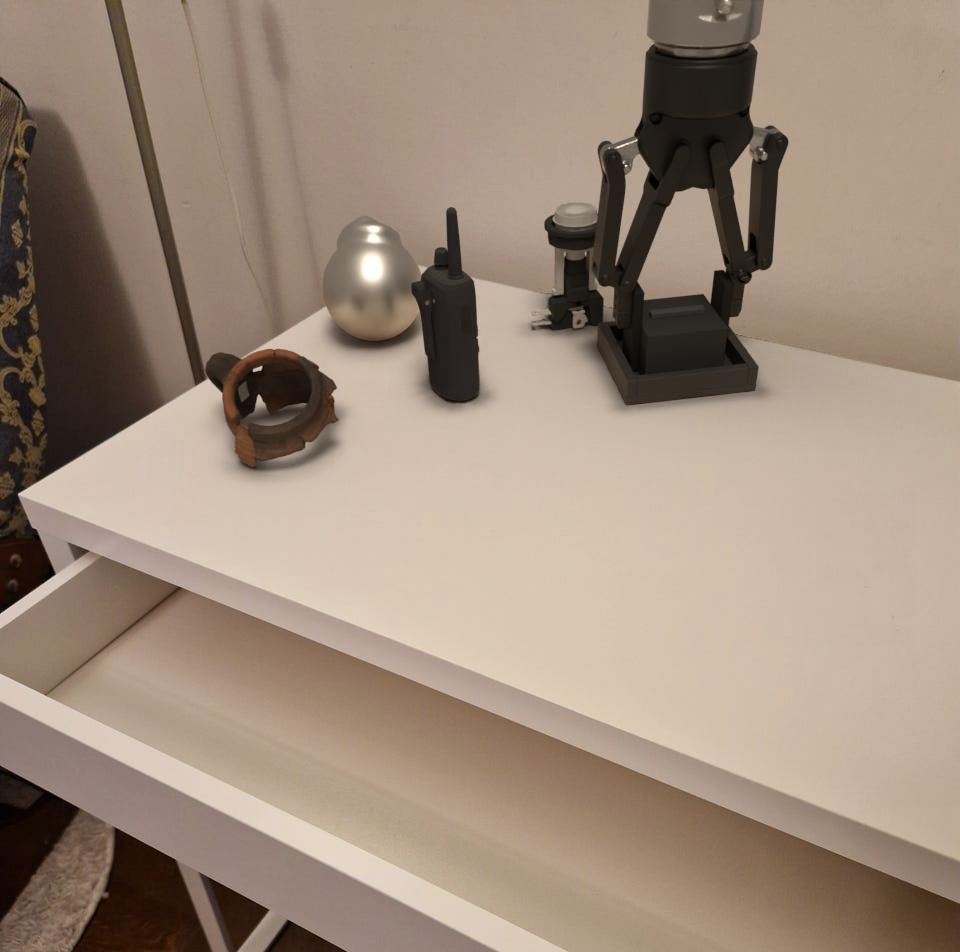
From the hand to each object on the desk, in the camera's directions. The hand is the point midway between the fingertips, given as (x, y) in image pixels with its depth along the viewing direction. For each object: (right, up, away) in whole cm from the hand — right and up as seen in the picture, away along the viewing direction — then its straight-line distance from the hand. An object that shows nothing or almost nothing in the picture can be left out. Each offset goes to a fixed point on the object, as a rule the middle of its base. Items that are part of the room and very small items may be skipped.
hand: (672, 357), depth 83 cm
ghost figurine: (-25, +4, +8) cm, 27 cm away
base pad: (0, -1, +1) cm, 1 cm away
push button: (-8, +5, +8) cm, 12 cm away
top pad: (0, 0, 0) cm, 0 cm away
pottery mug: (-32, -8, -4) cm, 33 cm away
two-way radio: (-19, -3, -1) cm, 19 cm away
